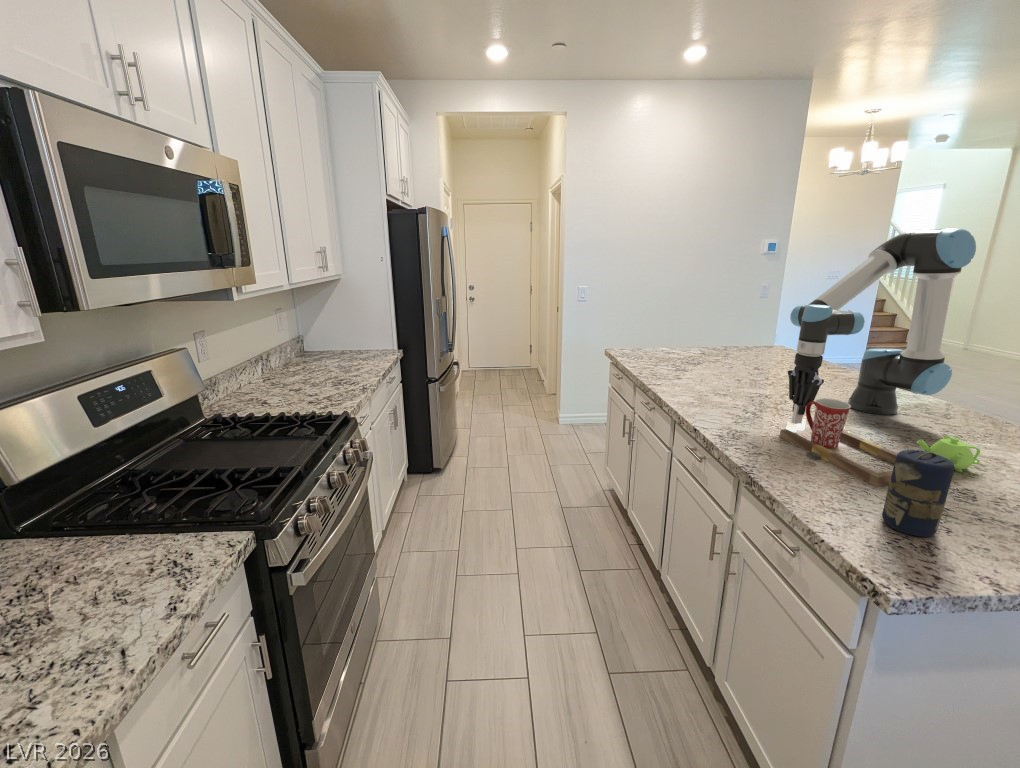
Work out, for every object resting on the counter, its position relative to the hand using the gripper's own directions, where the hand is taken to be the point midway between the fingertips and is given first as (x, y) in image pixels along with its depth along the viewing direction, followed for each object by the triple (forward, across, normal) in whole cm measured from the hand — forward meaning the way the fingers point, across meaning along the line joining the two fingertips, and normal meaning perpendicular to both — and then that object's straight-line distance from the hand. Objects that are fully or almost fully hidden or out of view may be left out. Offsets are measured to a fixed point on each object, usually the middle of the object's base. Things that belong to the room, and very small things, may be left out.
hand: (796, 422), depth 159 cm
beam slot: (+3, +20, +1) cm, 20 cm away
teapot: (+3, +31, +21) cm, 38 cm away
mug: (+3, +10, +1) cm, 10 cm away
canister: (+3, +55, -19) cm, 58 cm away
